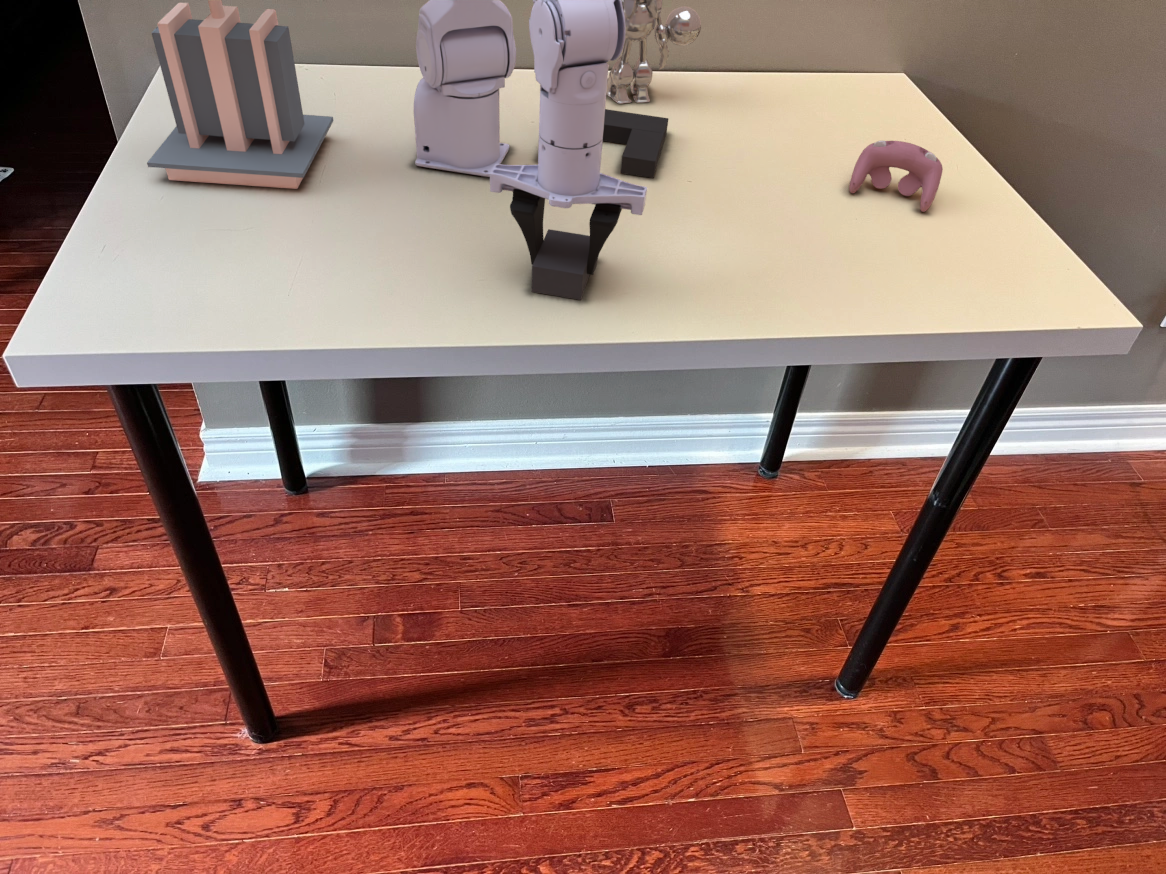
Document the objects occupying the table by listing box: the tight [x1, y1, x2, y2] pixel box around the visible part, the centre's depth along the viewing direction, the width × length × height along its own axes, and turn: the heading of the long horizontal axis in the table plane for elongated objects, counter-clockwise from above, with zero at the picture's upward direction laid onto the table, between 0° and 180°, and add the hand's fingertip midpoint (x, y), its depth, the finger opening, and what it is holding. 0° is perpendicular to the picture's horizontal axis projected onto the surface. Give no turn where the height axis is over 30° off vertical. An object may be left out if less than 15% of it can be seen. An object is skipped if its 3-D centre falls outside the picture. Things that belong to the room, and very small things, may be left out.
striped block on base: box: [146, 0, 334, 190], centre depth 90 cm, size 18×14×33 cm
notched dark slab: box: [603, 108, 669, 179], centre depth 109 cm, size 14×12×2 cm
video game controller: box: [848, 140, 943, 213], centre depth 104 cm, size 10×5×7 cm, turn 65°
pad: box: [531, 228, 591, 301], centre depth 88 cm, size 5×7×3 cm
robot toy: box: [606, 0, 702, 105], centre depth 116 cm, size 15×6×15 cm, turn 105°
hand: (563, 264), depth 88 cm, fingers closed on pad, 5 cm apart
